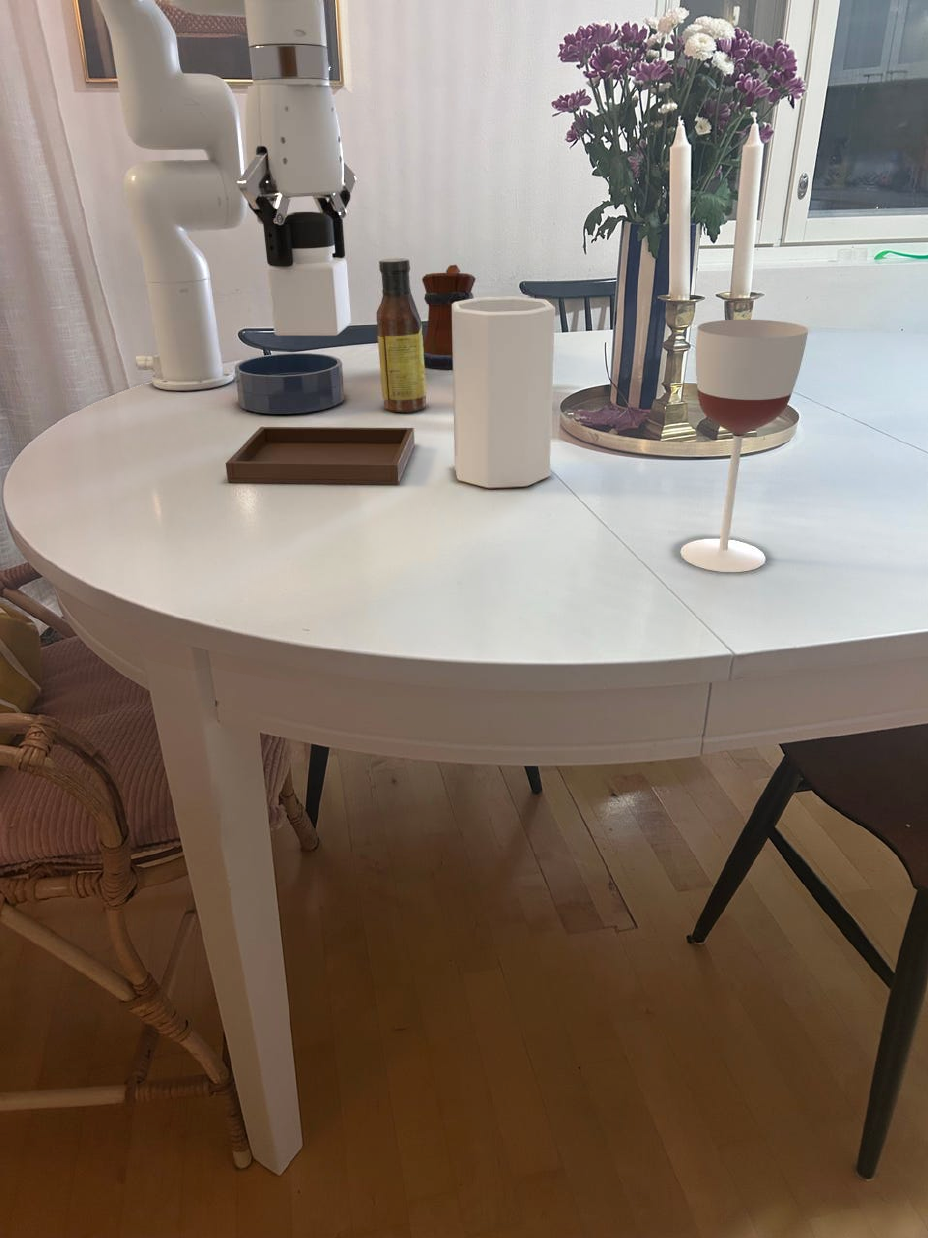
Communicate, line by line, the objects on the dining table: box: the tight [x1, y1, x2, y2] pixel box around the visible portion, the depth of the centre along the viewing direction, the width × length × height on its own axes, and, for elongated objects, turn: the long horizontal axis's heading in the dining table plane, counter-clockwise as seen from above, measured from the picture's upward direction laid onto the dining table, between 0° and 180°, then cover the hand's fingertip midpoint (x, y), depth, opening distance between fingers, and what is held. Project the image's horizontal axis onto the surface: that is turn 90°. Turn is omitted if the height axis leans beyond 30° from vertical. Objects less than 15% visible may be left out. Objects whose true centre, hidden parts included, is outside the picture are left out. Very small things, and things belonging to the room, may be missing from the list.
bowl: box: [234, 352, 346, 415], centre depth 132 cm, size 15×15×6 cm
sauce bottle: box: [375, 257, 427, 413], centre depth 124 cm, size 7×6×20 cm
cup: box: [452, 295, 556, 490], centre depth 99 cm, size 11×11×18 cm
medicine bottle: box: [266, 211, 352, 337], centre depth 98 cm, size 7×7×12 cm
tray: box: [225, 426, 415, 486], centre depth 107 cm, size 19×14×2 cm
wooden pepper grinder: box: [421, 264, 476, 370], centre depth 154 cm, size 18×12×15 cm, turn 177°
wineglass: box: [679, 319, 809, 573], centre depth 78 cm, size 8×9×20 cm
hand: (307, 260), depth 97 cm, fingers closed on medicine bottle, 7 cm apart
